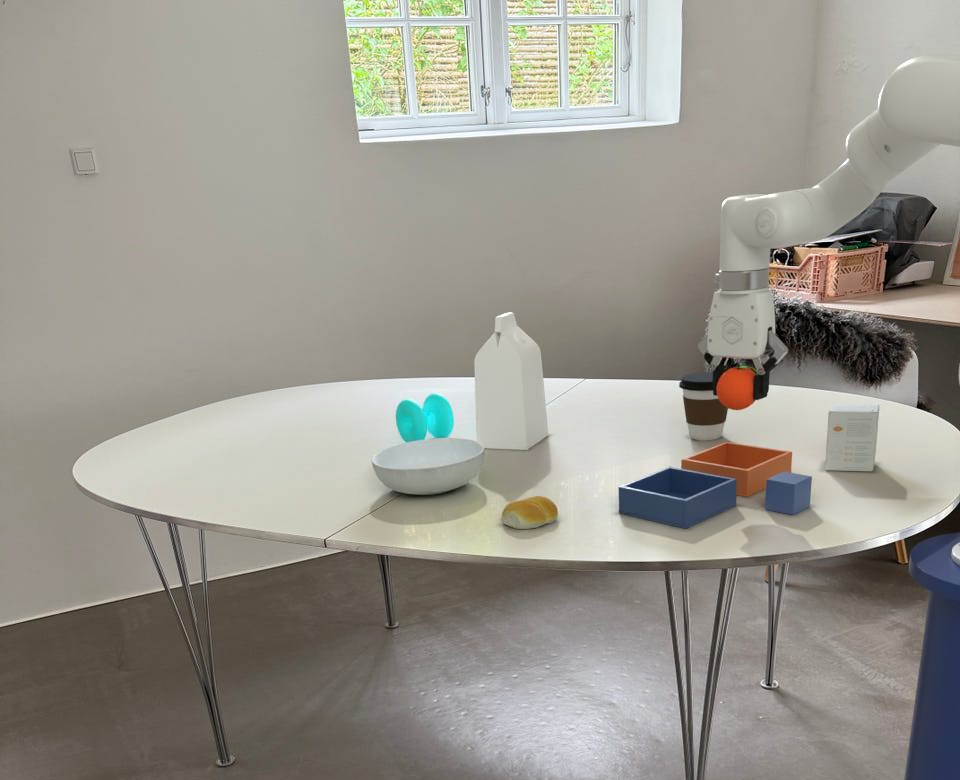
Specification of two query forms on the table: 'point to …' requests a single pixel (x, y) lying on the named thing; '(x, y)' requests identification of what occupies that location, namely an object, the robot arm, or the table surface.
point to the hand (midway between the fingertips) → (739, 395)
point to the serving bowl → (429, 465)
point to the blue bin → (677, 496)
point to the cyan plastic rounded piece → (424, 418)
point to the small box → (852, 437)
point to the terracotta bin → (741, 464)
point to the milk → (509, 389)
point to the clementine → (736, 387)
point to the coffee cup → (702, 407)
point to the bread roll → (530, 513)
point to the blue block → (788, 493)
